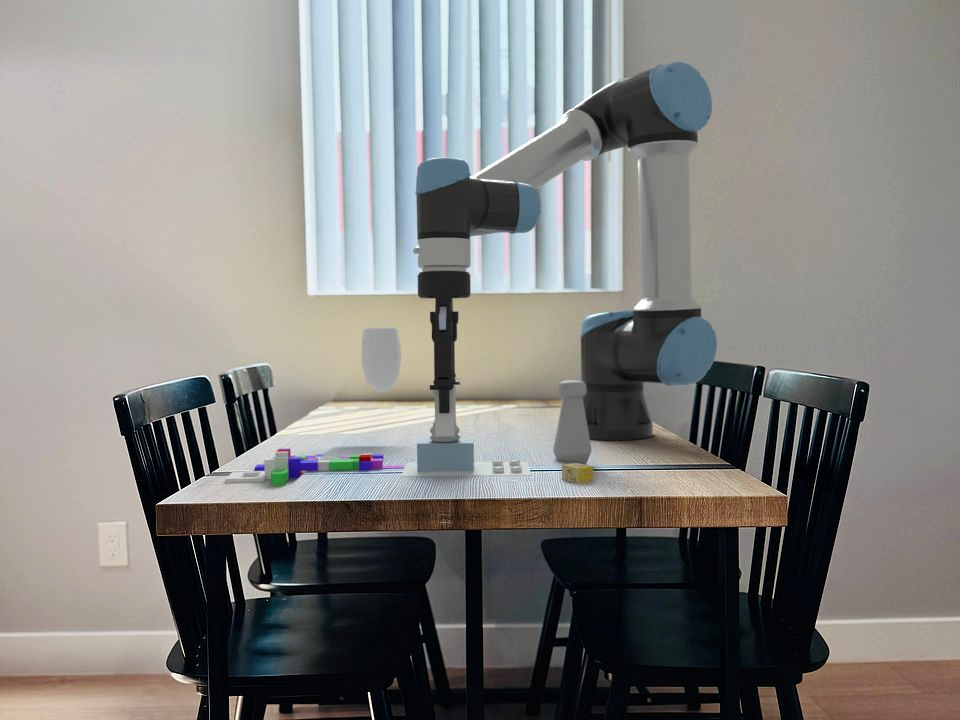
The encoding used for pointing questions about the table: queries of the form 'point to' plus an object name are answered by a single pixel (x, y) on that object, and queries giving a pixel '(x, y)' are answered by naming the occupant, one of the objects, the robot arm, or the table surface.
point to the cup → (381, 357)
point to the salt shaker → (572, 424)
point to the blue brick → (445, 455)
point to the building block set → (305, 467)
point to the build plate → (477, 469)
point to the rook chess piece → (444, 438)
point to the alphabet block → (577, 472)
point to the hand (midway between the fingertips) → (445, 432)
